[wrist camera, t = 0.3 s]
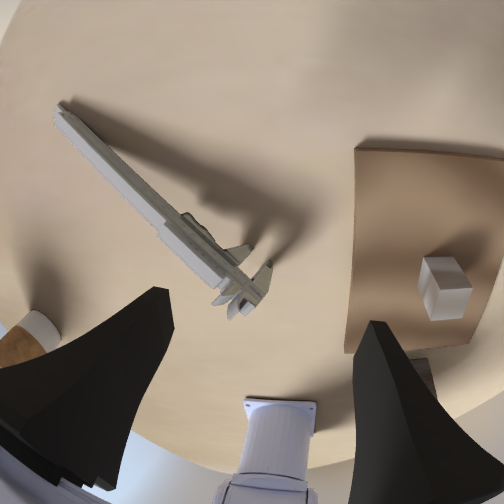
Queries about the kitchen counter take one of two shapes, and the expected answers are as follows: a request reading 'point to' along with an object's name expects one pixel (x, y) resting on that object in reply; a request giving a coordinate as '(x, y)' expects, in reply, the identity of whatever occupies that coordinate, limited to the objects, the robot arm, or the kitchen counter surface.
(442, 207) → the post base
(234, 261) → the caliper
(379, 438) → the robot arm
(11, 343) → the coffee cup
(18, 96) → the kitchen counter surface
